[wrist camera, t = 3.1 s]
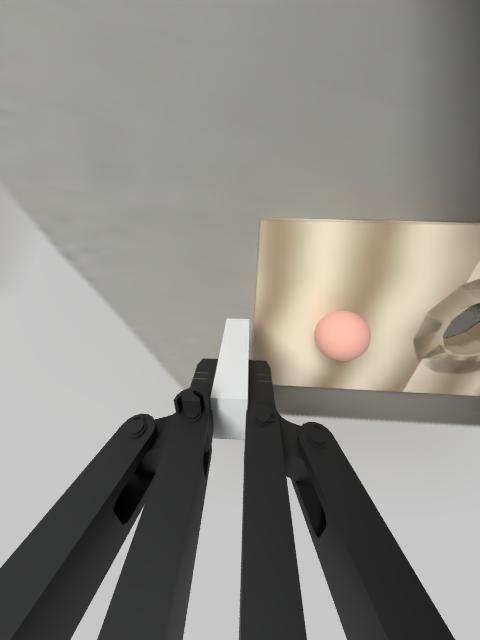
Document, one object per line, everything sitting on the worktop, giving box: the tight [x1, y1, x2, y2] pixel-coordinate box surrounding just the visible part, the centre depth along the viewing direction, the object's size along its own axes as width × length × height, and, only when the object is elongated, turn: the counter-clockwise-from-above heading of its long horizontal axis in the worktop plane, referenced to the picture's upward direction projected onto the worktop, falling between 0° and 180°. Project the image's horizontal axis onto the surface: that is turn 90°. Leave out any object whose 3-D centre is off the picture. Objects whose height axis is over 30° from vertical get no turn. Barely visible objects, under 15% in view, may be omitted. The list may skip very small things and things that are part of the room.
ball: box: [315, 311, 371, 361], centre depth 14 cm, size 4×4×4 cm
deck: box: [252, 218, 480, 396], centre depth 17 cm, size 24×14×2 cm, turn 89°
